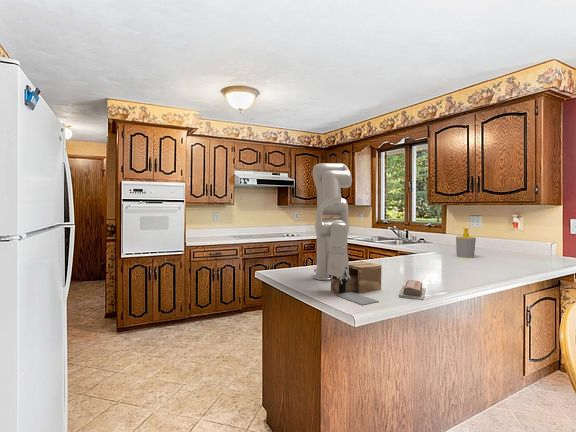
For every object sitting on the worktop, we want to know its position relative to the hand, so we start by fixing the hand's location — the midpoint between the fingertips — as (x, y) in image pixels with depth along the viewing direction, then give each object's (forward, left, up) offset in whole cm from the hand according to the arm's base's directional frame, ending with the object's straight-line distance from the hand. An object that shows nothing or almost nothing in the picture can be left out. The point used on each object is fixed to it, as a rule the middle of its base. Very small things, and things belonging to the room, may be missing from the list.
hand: (338, 290), depth 155 cm
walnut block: (0, +5, -1) cm, 5 cm away
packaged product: (+18, +27, -1) cm, 33 cm away
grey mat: (+12, 0, -1) cm, 12 cm away
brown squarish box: (0, +14, -1) cm, 14 cm away
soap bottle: (-31, +146, -1) cm, 149 cm away
